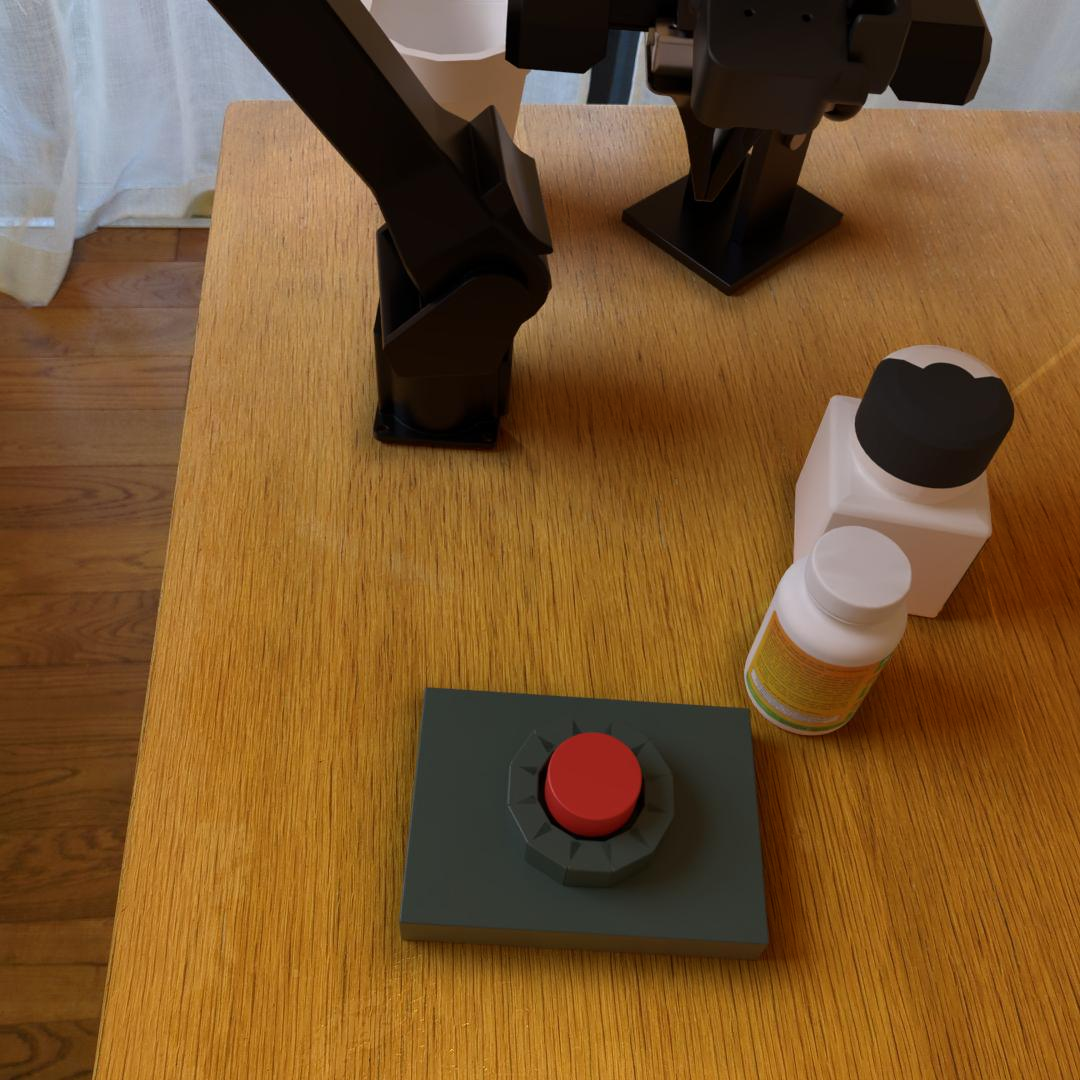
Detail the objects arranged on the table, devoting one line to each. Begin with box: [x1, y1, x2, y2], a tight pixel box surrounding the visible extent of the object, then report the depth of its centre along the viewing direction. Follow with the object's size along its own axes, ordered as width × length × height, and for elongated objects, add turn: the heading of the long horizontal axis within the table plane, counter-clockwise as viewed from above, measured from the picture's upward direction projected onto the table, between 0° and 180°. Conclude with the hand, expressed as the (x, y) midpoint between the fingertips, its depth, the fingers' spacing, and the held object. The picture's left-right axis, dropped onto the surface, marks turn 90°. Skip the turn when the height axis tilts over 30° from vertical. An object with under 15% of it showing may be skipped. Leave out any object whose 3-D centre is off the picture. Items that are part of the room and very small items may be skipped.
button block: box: [398, 686, 770, 961], centre depth 45 cm, size 14×10×4 cm
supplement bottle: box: [743, 526, 913, 736], centre depth 47 cm, size 5×5×10 cm
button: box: [545, 733, 642, 837], centre depth 43 cm, size 4×4×2 cm
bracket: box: [621, 128, 844, 297], centre depth 67 cm, size 11×9×10 cm
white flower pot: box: [361, 0, 532, 142], centre depth 64 cm, size 10×9×13 cm
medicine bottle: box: [793, 344, 1015, 618], centre depth 51 cm, size 7×7×12 cm
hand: (703, 195), depth 51 cm, fingers closed
